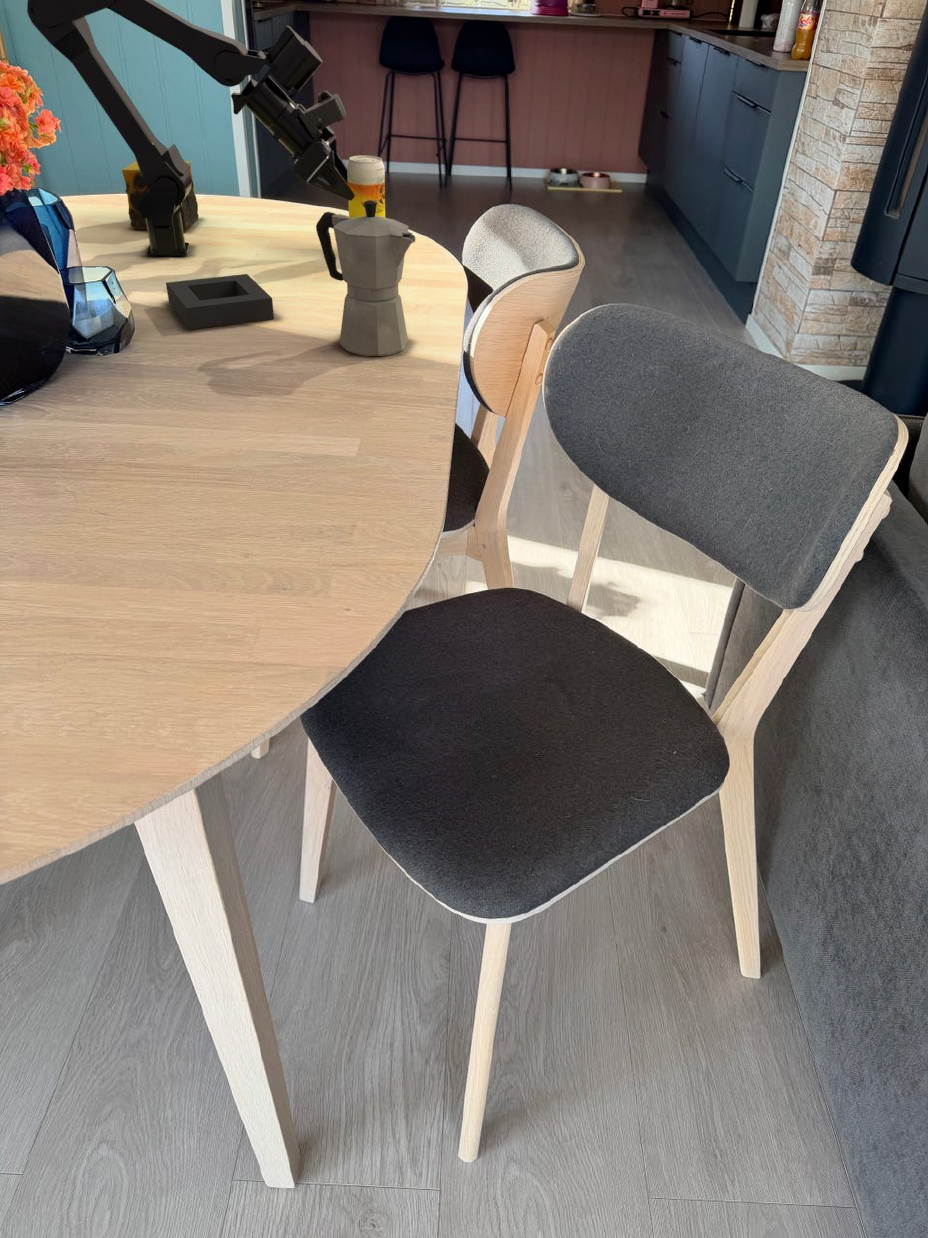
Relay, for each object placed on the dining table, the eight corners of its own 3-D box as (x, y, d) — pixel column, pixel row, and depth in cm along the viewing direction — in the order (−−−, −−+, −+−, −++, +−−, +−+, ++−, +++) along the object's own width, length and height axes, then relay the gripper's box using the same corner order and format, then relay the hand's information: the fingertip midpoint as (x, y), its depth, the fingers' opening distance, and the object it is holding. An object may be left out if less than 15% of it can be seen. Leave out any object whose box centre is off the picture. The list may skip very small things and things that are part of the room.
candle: (186, 232, 162) (178, 171, 156) (130, 230, 162) (119, 169, 156) (200, 218, 170) (193, 160, 164) (147, 216, 170) (137, 157, 164)
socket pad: (168, 303, 131) (165, 282, 129) (249, 293, 136) (247, 273, 134) (189, 329, 123) (186, 307, 121) (274, 318, 127) (272, 297, 126)
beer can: (380, 260, 152) (378, 163, 143) (345, 257, 153) (341, 160, 144) (389, 251, 157) (388, 156, 148) (356, 248, 158) (353, 153, 149)
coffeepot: (434, 345, 121) (436, 202, 111) (392, 366, 115) (390, 216, 104) (345, 321, 128) (339, 183, 117) (301, 339, 121) (290, 195, 111)
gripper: (310, 81, 131) (388, 165, 138) (316, 66, 145) (386, 143, 153) (261, 140, 135) (339, 219, 142) (272, 120, 150) (342, 192, 157)
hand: (353, 191), depth 149 cm, fingers open, 9 cm apart
